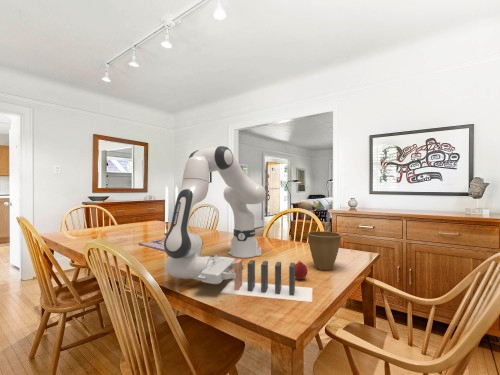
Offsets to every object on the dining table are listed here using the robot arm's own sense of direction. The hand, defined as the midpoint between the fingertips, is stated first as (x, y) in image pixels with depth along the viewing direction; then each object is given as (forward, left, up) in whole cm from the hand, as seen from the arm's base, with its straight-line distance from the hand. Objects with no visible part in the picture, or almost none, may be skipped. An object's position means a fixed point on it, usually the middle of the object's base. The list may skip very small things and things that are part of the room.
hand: (240, 271), depth 99 cm
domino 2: (0, +9, -6) cm, 11 cm away
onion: (-14, +21, -7) cm, 26 cm away
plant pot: (-32, +31, -7) cm, 45 cm away
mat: (0, +10, -6) cm, 12 cm away
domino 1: (0, +4, -6) cm, 8 cm away
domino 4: (0, +19, -6) cm, 20 cm away
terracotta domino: (0, -1, -6) cm, 6 cm away
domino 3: (0, +14, -6) cm, 16 cm away
